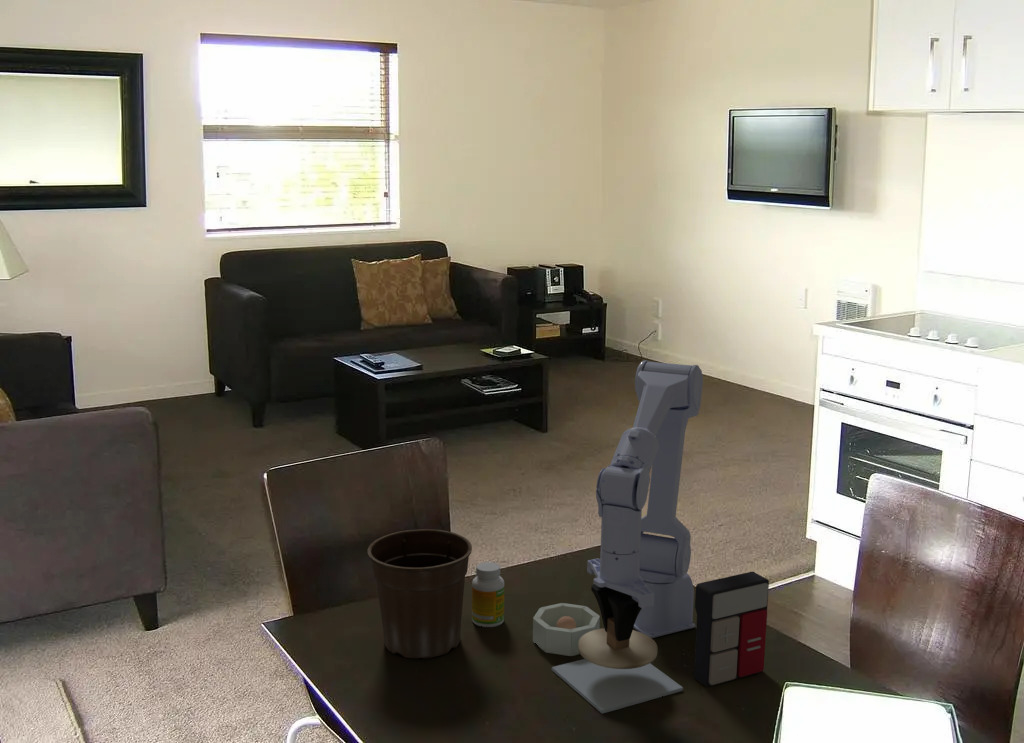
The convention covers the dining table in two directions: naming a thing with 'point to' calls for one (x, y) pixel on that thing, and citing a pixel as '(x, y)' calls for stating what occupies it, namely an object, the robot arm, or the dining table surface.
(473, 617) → the supplement bottle
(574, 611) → the bowl
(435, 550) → the plant pot
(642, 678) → the mat
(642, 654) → the lid
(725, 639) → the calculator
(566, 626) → the ball
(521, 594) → the dining table surface
